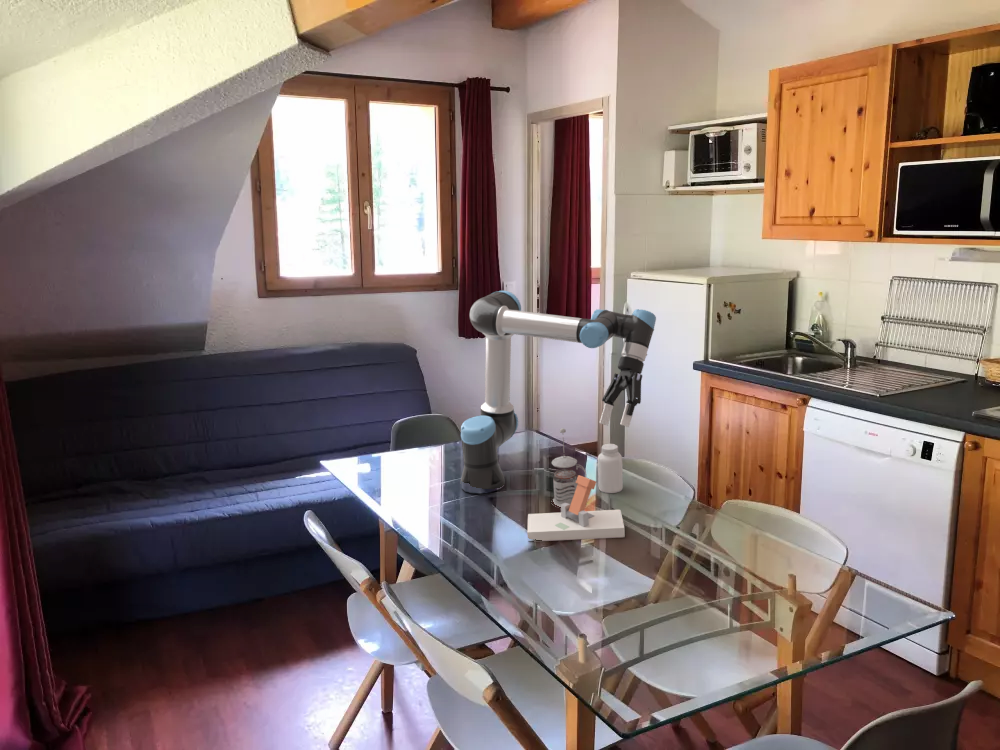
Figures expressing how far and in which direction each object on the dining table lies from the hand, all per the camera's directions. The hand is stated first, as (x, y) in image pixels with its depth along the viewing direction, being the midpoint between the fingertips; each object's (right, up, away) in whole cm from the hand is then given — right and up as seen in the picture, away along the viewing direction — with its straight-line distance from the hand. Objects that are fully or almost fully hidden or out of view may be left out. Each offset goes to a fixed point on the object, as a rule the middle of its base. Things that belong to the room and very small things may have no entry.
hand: (613, 425), depth 244 cm
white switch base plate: (-12, -31, -6) cm, 34 cm away
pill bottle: (+2, -22, +20) cm, 30 cm away
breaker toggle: (-13, -27, -7) cm, 31 cm away
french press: (-12, -26, +13) cm, 31 cm away
